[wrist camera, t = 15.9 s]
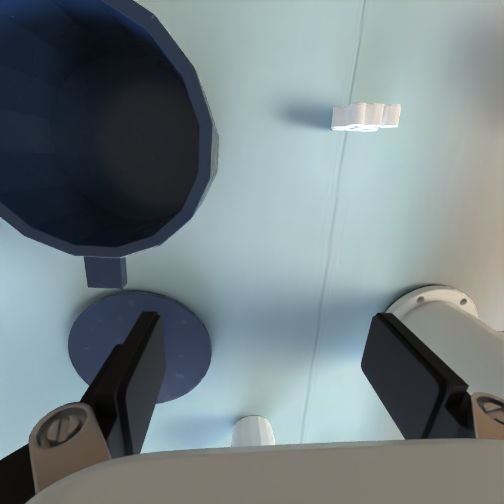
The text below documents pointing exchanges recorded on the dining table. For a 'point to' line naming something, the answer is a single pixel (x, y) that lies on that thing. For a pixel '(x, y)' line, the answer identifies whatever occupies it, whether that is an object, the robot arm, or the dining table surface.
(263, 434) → the white cup
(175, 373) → the pot lid
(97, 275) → the pot
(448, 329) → the robot arm
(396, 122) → the white marshmallow cluster
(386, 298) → the dining table surface
